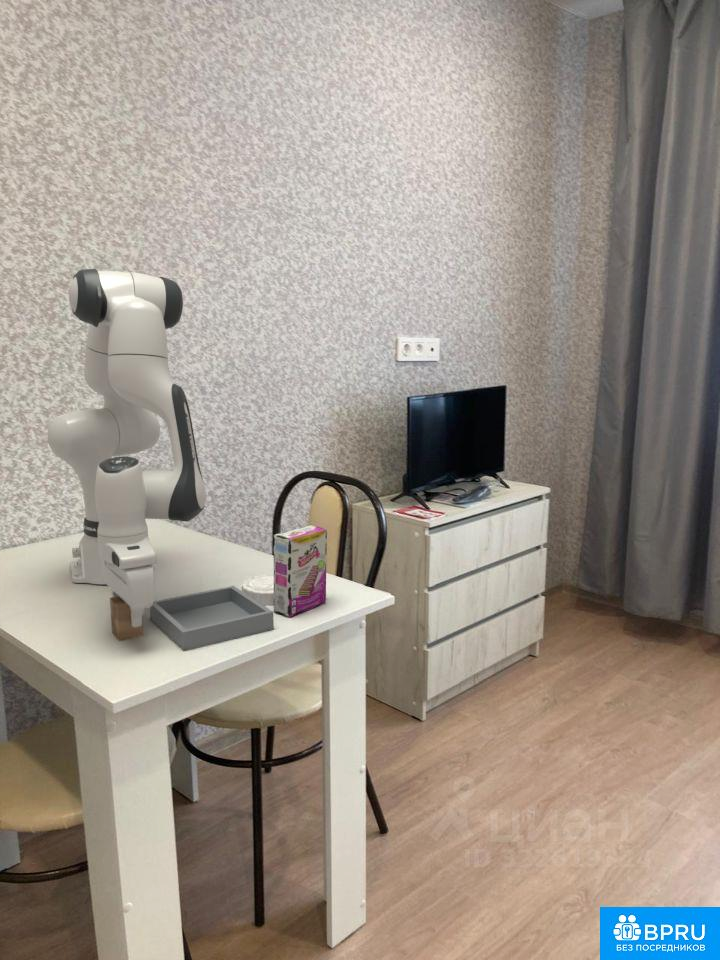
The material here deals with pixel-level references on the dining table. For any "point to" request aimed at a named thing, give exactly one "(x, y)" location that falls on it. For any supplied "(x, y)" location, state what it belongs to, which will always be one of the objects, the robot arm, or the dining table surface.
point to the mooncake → (260, 589)
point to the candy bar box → (299, 570)
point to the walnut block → (123, 620)
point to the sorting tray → (210, 617)
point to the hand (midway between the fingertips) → (128, 617)
